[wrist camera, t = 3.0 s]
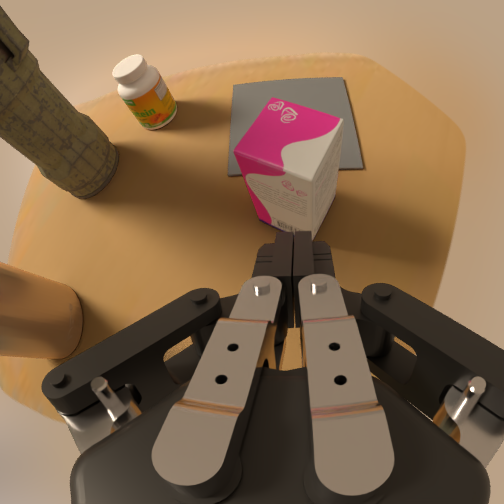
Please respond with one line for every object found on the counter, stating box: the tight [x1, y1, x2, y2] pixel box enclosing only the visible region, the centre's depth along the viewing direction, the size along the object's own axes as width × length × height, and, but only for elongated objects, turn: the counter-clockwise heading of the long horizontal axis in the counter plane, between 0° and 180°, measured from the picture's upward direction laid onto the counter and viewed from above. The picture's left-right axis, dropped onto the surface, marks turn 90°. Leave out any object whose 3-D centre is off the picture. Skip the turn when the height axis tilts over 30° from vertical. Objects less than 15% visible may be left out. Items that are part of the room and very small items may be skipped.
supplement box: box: [233, 97, 344, 241], centre depth 24 cm, size 6×6×12 cm
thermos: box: [0, 6, 119, 199], centre depth 20 cm, size 9×12×35 cm
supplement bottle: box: [112, 54, 177, 130], centre depth 32 cm, size 5×5×10 cm
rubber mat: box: [228, 77, 363, 176], centre depth 32 cm, size 14×14×1 cm
